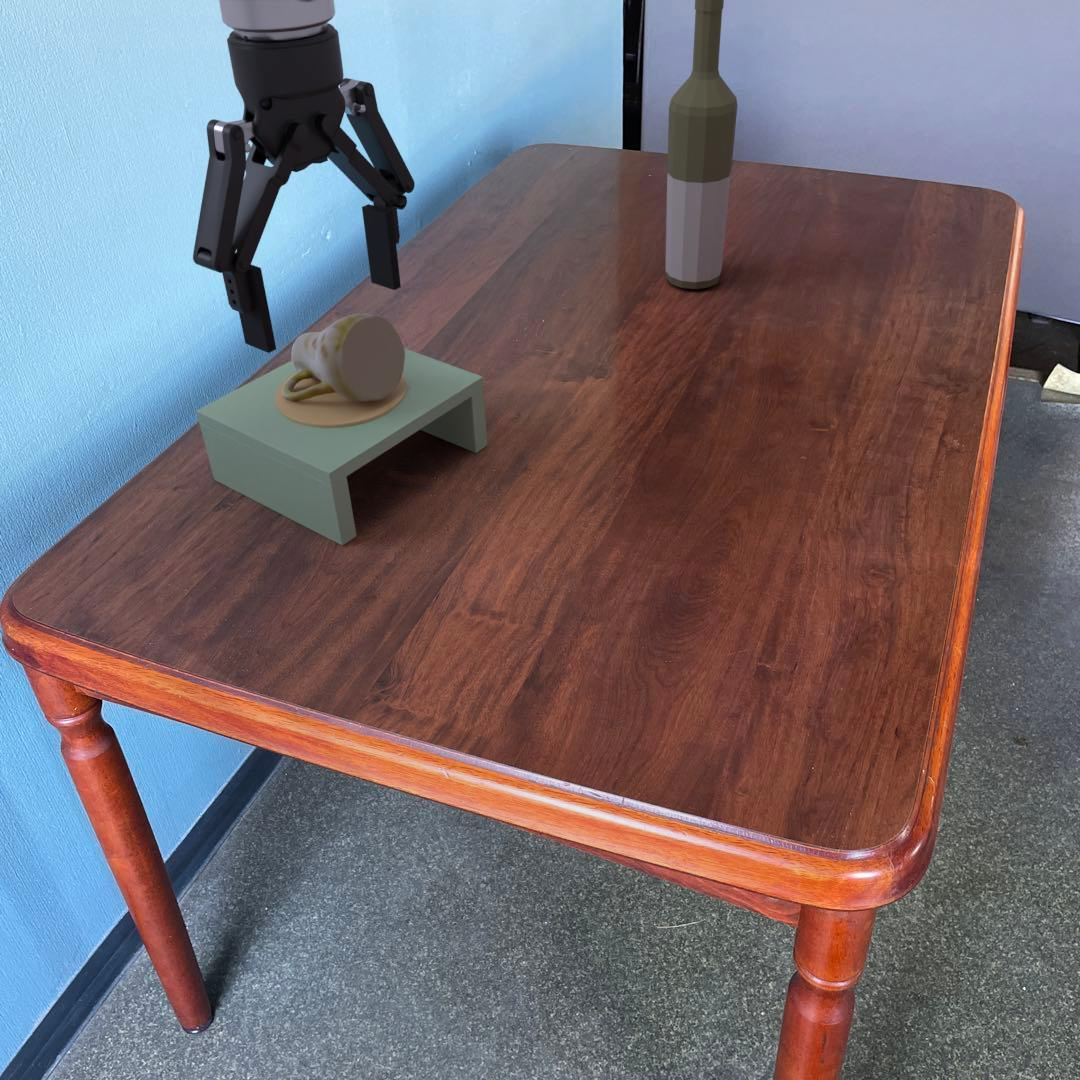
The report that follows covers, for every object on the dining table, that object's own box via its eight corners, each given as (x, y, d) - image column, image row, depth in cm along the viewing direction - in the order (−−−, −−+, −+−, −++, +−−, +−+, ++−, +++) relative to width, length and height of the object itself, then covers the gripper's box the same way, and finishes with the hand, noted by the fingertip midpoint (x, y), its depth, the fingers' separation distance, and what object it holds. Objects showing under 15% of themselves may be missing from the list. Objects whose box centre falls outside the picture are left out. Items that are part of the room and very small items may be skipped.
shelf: (214, 479, 93) (195, 407, 89) (361, 394, 104) (351, 325, 100) (342, 546, 85) (328, 469, 81) (487, 445, 96) (482, 373, 92)
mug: (325, 355, 96) (365, 268, 89) (388, 433, 93) (433, 350, 87) (256, 368, 90) (293, 276, 84) (320, 451, 88) (363, 363, 81)
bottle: (727, 293, 120) (751, -3, 101) (664, 295, 120) (676, -1, 101) (720, 267, 125) (741, -18, 107) (659, 269, 125) (670, -16, 107)
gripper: (163, 75, 64) (233, 390, 76) (444, -1, 79) (464, 272, 92) (89, 58, 67) (168, 361, 80) (372, -11, 83) (400, 252, 96)
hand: (326, 314), depth 86 cm, fingers open, 13 cm apart
